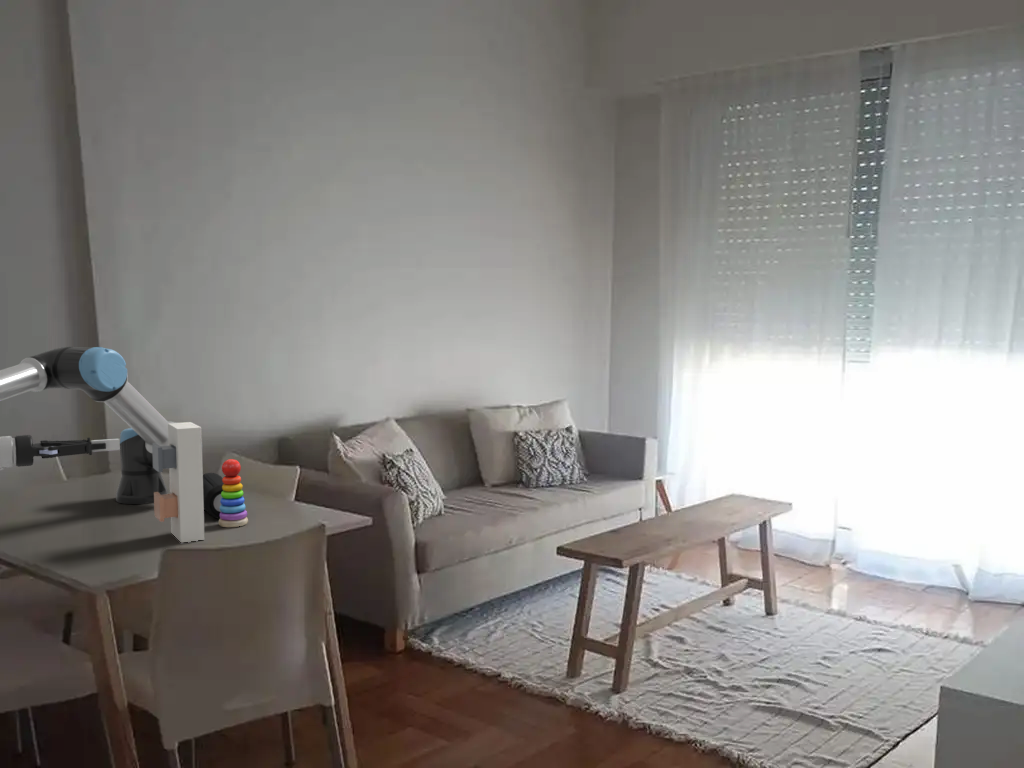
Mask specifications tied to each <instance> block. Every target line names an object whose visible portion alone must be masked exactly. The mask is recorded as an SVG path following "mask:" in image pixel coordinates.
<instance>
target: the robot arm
mask: <svg viewBox="0 0 1024 768" xmlns="http://www.w3.org/2000/svg"><path fill="white" fill-rule="evenodd" d="M126 366H127V363H126V361H125V358H124V357H123V356H122V354H120V353H119V352H118V351H116V350H114V349H111V348H105V347H102V346H96V347H95V346H94V347H85V346H81V347H80V346H63V347H58V348H54V349H49V350H47V351H44V352H40V353H38V354H34V355H31V356H27V357H26V358H23V359H22V360H20V362H19V364H16V365H13V366H9V367H6V368H2V369H0V402H1V401H4V400H7V399H11V398H13V397H16V396H20V395H22V394H25V393H27V392H28V393H29V392H30V391H31V392H33V393H37V392H38V393H39V392H42V391H45V390H50V389H53V390H54V389H63V390H64V389H65V390H80V391H83V392H84V393H85V394H86V395H87V396H88V397H89V398H90V399H92V400H93V401H94V402H97V403H104V404H105V405H106V406H107V407H109V409H110V410H111V411H113V412H114V413H115V415H117V416H118V417H119V418H120V419H121V420H122V421H123V422H124V423H126V424H127V426H128V428H125V429H123V430H121V432H120V437H119V438H109V439H94V440H93V439H92V440H91V438H90V437H86V438H87V439H76V440H74V439H73V440H72V439H71V440H47V439H46V440H40V442H37V443H34V442H33V437H32V435H30V434H23V435H16V436H14V437H12V435H2V436H0V471H3V470H5V468H13V467H14V465H15V466H16V467H19V468H21V467H32V466H33V465H34V457H41V459H53V458H56V457H57V458H59V457H66V456H67V457H68V456H76V455H84V454H85V455H87V454H88V455H89V456H92V455H93V453H95V452H96V453H97V452H108V451H119V452H120V469H121V470H120V471H121V473H120V474H121V475H120V480H119V483H118V485H117V486H118V487H117V489H116V492H115V493H116V494H115V501H116V502H117V503H119V504H125V505H143V504H144V503H145V504H152V503H153V504H154V492H159V493H160V494H161V495H163V494H169V493H168V488H167V485H166V483H165V480H164V478H163V475H162V472H158V471H156V470H155V469H154V468H153V453H152V444H155V443H156V444H158V445H159V446H168V423H176V422H175V421H172V420H169V421H168V420H167V419H166V418H165V417H164V416H163V415H162V414H161V413H160V412H159V411H158V410H157V409H156V408H155V407H154V406H153V405H152V404H151V403H150V402H149V401H148V400H147V399H146V398H145V397H144V396H143V395H142V394H141V393H140V392H139V391H138V390H137V389H136V388H135V386H133V385H132V384H131V383H130V382H129V381H128V380H129V377H128V375H129V374H128V368H127V367H126ZM166 469H167V470H169V468H166Z"/></svg>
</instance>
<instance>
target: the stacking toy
mask: <svg viewBox="0 0 1024 768" xmlns="http://www.w3.org/2000/svg"><path fill="white" fill-rule="evenodd" d="M241 467H242V466H241V463H240V462H239V461H238V460H237V459H233V458H230V459H226V460H224V462H222V465H221V472H222V473H223V475H224V476H223V477H222V478H223V479H222V481H223V483H224V484H223V486H222V489H223V490H224V491H222V492H221V496H222V498H221V500H220V502H221V504H222V505H221V506H220V511H221V513H220V519H218V525H219V526H220V527H223V528H238V527H239V526H240V527H243V526H245V525H247V524H248V523H249V519H248V517H247V516H248V511H247V510H246V504H245V498H244V491H243V487H244V485H243V484H242V483H241V482H242V477H241V476H240V475H239V474H240V472H241V470H242V468H241Z"/></svg>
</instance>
